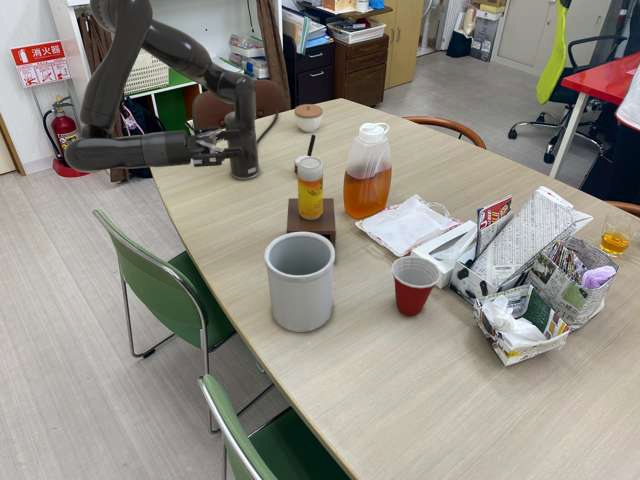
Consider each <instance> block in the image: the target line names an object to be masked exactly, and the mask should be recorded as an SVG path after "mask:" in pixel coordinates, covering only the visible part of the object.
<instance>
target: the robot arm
mask: <svg viewBox="0 0 640 480" xmlns="http://www.w3.org/2000/svg"><path fill="white" fill-rule="evenodd" d="M89 9H90V12H91V14H92V17H93V18H94V20H95V21H96V23H97V24H98V25H99V26H100V27H101V28H102V29H103V30H105V31H106V32H108V33H110V34H112V35H113V39H112V42H111V45H110V47H109V49H108V51H107V53H106V55H105V56H104V58H103V60H102V61H101V62H100V63H99V65H98V66H97V68H96V69H95V70H94V72H93V73H92V74H91V76H90V78H89V80H88V81H87V84H86V87H85V89H84V92H83V97H82V101H81V105H80V109H79V114H78V120H79V123H80V124H81V130H80V137H79V138H76V139H73V140H72V141H70V142H69V143H68V144H67V145H66V147H65V149H64V159H65V161H66V163H67V165H68V166H69V167H71V169H73V170H75V171H77V172H80V173H90V174H96V173H100V172H102V171H104V170H113V169H126V170H127V169H143V168H167V167H177V166H187V165H190V164H191V163H193V167H195V168H202V167H219V166H222V165H223V162H224V161H225V160H226V159H227V160H228V159H229V165H230V175H231V177H232V178H233V179H235V180H240V181H248V180H252V179H255V178H257V177H258V176H259V175H260V172H261V171H260V165H259V153H258V144H259V142H260V141H261V139H262V138H263V137H264V136H265V135H266V134H267V133H268V132H269V131H270V129H271V128H272V127H273V126H274V124H275V123H276V121H277V119H278V117H279V111H280V108H279V107H276V109H275V110H276V111H275V116H274V118H273V120H272V122H271V123H270V124H269V126H267V128H266V129H265V130H264V131H263V133H262V134H261V135H260V136H259V137H258V138H257V131H256V116H257V93H256V92H257V91H256V90H257V89H256V85H255V81H254V79H253V77H252V76H250V75H248V74H245V73H241V72H237V71H233V70H230V69H226V68H224V67H222V66H220V65H218V64H216V63H215V62H213V60H212V57H211V55H210V53H209V51H208V50H207V48H206V47H205V46H204V45H203V44H202V43H200V42H199V41H198V40H197V39H195V38H194V37H192V36H191V35H190V34H188V33H186V32H184V31H183V30H180V29H178V28H176V27H174V26H171V25H169V24H166V23H164V22H161V21H159V20H157V19H155V18H154V17H153V16H154V12H153V5H152V3H151V0H89ZM142 50H143V51H145V52H146V53H148V54H149V55H151V56H152V57H153V58H155V59H157V60H158V61H160V62H161V63H163V64H164V65H165V66H168V67H169V68H170V69H172V70H173V71H175V72H176V73H178V74H180V75H181V76H183V77H185V78H187V79H188V80H190V81H192V82H194V83H197V84H198V85H200V86H202V87H203V88H204V89H206V90H207V91H208V92H209V93H211V94H212V95H213V96H214V97H216V99H218V100H219V101H221V102H224V103H225V104H229V105H233V106H234V110H233V111H231V112H229V113H227V114H226V115H225V117H224V128H225V130H223V129H222V128H220V126H219V125H212V126H202V127H195V128H193V129H192V131H193V135H188V132H187V131H186V130H185V129H183V130H182V129H181V130H170V131H169V130H168V131H159V132H157V131H156V132H150V133H145V134H136V135H125V136H119V137H114V127H115V124H116V121H117V117H118V114H119V110H120V105H121V101H122V97H123V94H124V91H125V89H126V88H125V87H126V85H127V83H128V80H129V77H130V75H131V72H132V70H133V69H134V66H135V64H136V61H137V59H138V56H139V54H140V52H141V51H142ZM222 141H225V142H227V147H224V148H221V147H217V144H218V143H220V142H222Z"/></svg>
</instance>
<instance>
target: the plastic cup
mask: <svg viewBox="0 0 640 480" xmlns="http://www.w3.org/2000/svg"><path fill="white" fill-rule="evenodd" d="M391 274H392V277H393V282H394V293H395V302H396V303H395V305H396V309H397V311H398V312H399V313H400V314H401V315H404V316H406V317H415V316H416V317H417V315H419V314H420V313H421V312H422V310H423V308H424V306H425V304H426V303H427V301H428V299H429V297H430V294H431V292H432V291H433V288H434V287H435V286H436V285H437V284H438V283H439V281H440V279H441V277H442V272H441V270H440V268H439V267H438V265H437V264H436V263H434V262H433V261H431V260H430V259H428V258H424V257H422V256H415V255H407V256H401V257H399V258H397V259H395V260H394V261H393V263H392V264H391Z"/></svg>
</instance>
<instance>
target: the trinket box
mask: <svg viewBox="0 0 640 480" xmlns="http://www.w3.org/2000/svg"><path fill="white" fill-rule="evenodd" d="M323 111H324V110H323V108H322V106H320V105H317V104H311V103H307V104H305V103H304V104H300V105H298V106H296V107H295V108H294V111H293V112H294V121H295V124H296V125H297V127H298V128H299V129H300V130H301V131H302V132H303V133H305V132H306V133H312V132H316V131H317V129H319V127H321V124H322V121H323V113H324V112H323Z"/></svg>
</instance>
